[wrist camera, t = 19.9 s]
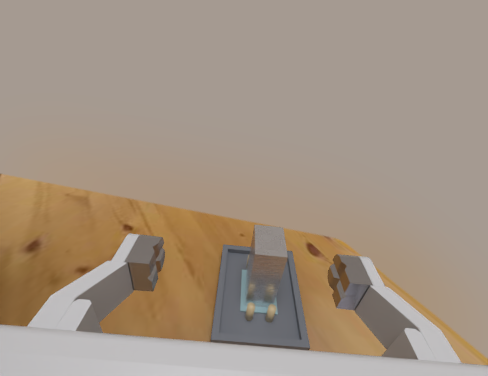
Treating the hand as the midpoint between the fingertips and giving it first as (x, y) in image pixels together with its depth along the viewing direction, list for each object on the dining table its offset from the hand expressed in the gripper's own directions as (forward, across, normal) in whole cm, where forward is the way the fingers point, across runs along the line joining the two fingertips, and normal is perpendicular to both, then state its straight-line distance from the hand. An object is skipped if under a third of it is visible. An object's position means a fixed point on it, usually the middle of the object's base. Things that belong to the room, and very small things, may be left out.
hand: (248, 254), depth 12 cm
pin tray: (+18, -5, +30) cm, 35 cm away
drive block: (+18, -5, +28) cm, 34 cm away
